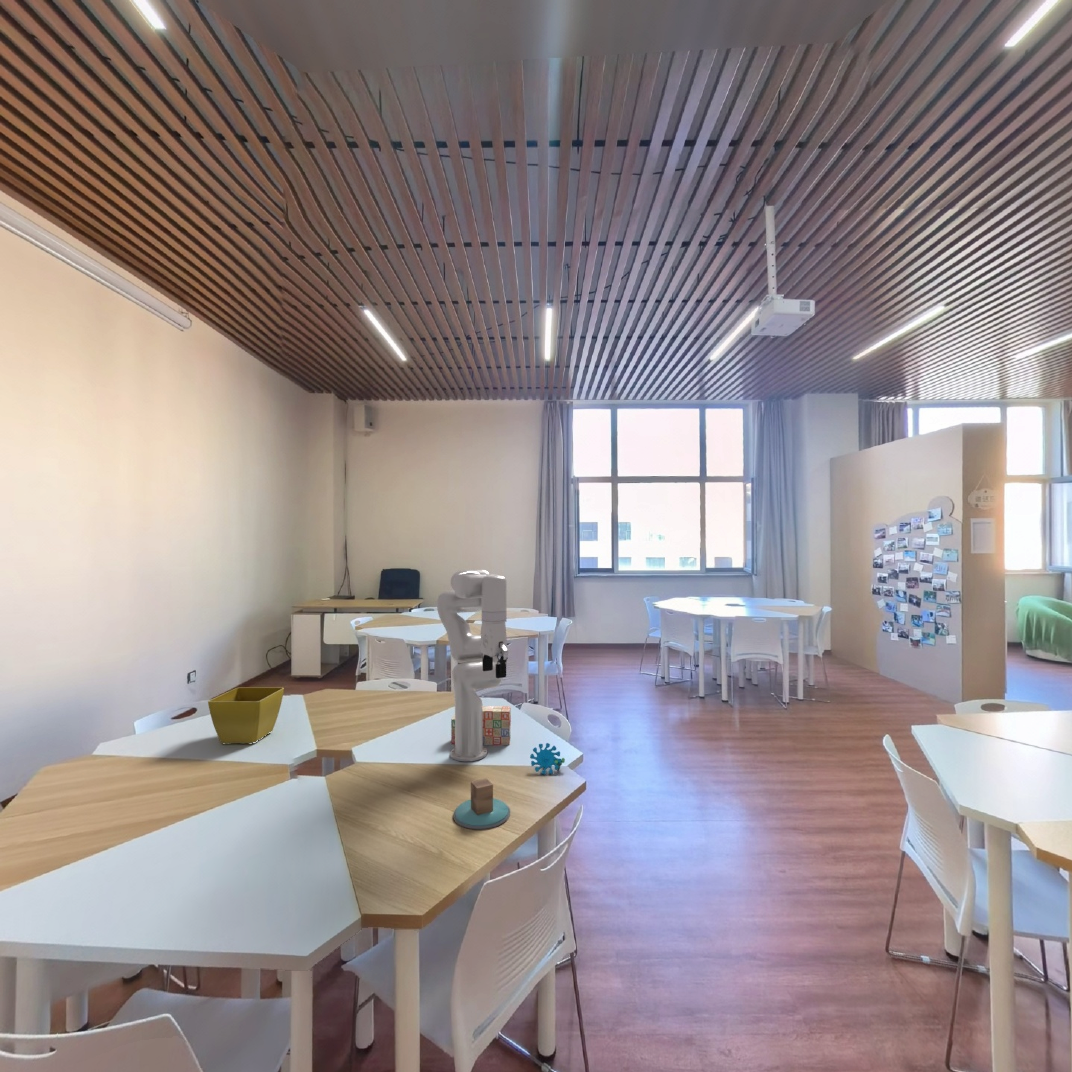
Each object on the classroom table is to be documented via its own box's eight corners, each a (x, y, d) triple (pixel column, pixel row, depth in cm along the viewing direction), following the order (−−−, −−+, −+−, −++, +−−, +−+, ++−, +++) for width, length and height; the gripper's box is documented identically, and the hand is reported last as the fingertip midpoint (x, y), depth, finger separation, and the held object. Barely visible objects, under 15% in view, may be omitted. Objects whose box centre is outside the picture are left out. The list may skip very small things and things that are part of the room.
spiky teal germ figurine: (527, 770, 163) (533, 739, 170) (527, 777, 167) (532, 747, 174) (562, 776, 162) (566, 745, 169) (561, 784, 166) (565, 753, 173)
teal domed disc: (445, 809, 142) (445, 804, 142) (496, 796, 149) (496, 792, 149) (465, 835, 129) (465, 830, 129) (519, 820, 136) (519, 815, 136)
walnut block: (470, 808, 140) (470, 781, 140) (486, 804, 142) (486, 778, 142) (477, 815, 136) (477, 788, 136) (493, 811, 138) (492, 784, 138)
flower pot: (258, 748, 187) (258, 701, 187) (205, 748, 187) (206, 701, 188) (284, 730, 206) (285, 687, 206) (237, 730, 206) (237, 687, 207)
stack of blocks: (450, 745, 189) (450, 710, 190) (453, 739, 195) (453, 705, 196) (509, 745, 189) (509, 710, 189) (510, 739, 195) (510, 705, 195)
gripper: (471, 614, 163) (471, 669, 163) (494, 621, 148) (494, 682, 148) (493, 613, 167) (493, 666, 166) (518, 619, 151) (518, 678, 151)
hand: (494, 674), depth 157 cm, fingers open, 9 cm apart
